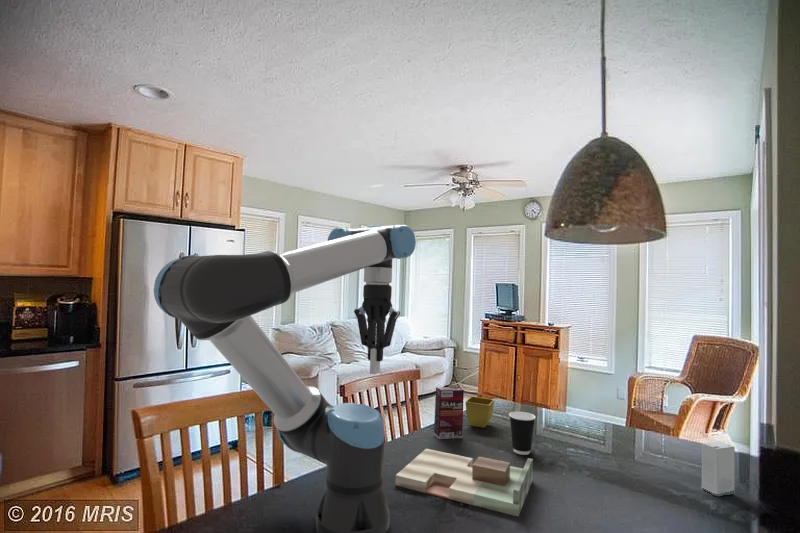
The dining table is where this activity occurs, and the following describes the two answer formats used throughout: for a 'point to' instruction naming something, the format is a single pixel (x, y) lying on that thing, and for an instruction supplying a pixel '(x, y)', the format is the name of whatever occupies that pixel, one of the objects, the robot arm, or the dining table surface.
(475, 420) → the flower pot
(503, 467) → the walnut block
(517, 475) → the platform
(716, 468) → the skincare box
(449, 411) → the supplement box
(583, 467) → the dining table surface
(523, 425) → the dixie cup
